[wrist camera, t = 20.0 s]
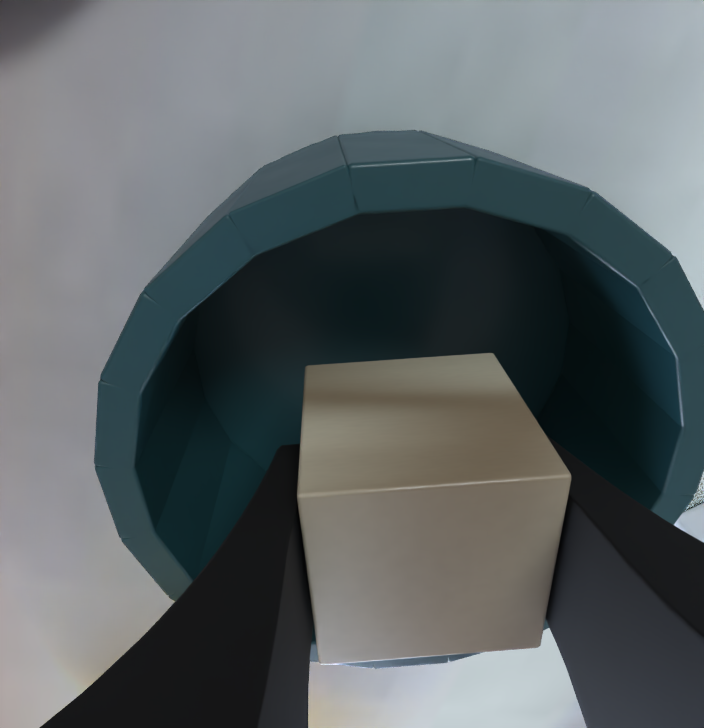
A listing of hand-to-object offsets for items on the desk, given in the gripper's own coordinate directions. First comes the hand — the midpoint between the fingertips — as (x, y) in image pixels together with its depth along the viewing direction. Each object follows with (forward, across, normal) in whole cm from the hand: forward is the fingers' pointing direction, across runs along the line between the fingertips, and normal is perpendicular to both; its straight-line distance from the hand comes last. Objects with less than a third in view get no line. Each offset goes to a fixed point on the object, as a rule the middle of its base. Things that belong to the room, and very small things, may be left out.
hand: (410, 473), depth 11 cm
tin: (+6, 0, 0) cm, 6 cm away
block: (+1, 0, 0) cm, 1 cm away
